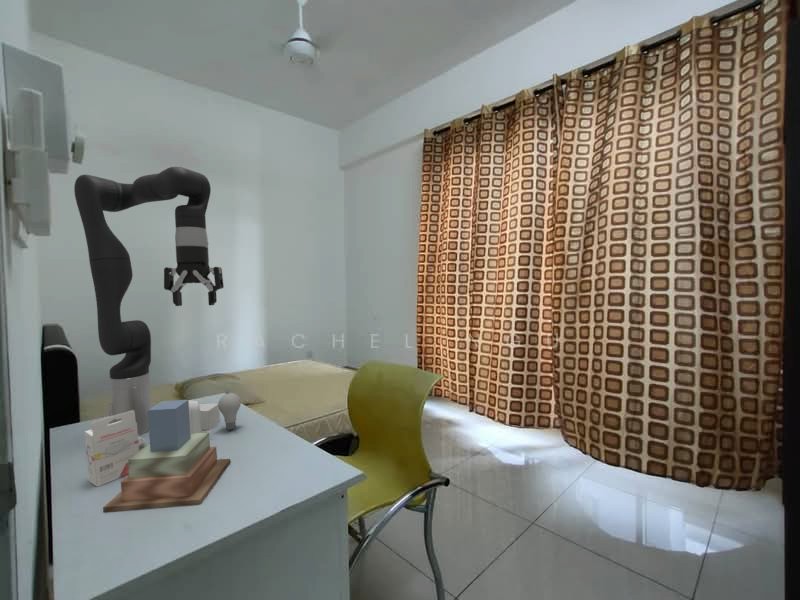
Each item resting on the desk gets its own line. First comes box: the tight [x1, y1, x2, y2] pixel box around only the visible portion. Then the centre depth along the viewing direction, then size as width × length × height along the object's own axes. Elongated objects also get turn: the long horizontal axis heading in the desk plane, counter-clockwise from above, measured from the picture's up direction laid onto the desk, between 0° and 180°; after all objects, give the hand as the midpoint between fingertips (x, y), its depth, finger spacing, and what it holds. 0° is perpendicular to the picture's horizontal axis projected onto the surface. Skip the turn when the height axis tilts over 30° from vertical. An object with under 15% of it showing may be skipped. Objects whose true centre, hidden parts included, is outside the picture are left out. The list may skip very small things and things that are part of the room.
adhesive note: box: [199, 403, 221, 431], centre depth 108 cm, size 6×6×6 cm
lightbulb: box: [217, 392, 242, 431], centre depth 105 cm, size 6×6×11 cm
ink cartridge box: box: [84, 410, 140, 488], centre depth 81 cm, size 9×5×15 cm, turn 148°
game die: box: [138, 436, 146, 450], centre depth 94 cm, size 4×4×3 cm
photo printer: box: [187, 399, 202, 434], centre depth 95 cm, size 10×4×12 cm, turn 123°
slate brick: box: [148, 399, 191, 452], centre depth 76 cm, size 6×6×9 cm
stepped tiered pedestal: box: [102, 431, 231, 513], centre depth 77 cm, size 18×16×9 cm
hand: (195, 305), depth 95 cm, fingers open, 8 cm apart
